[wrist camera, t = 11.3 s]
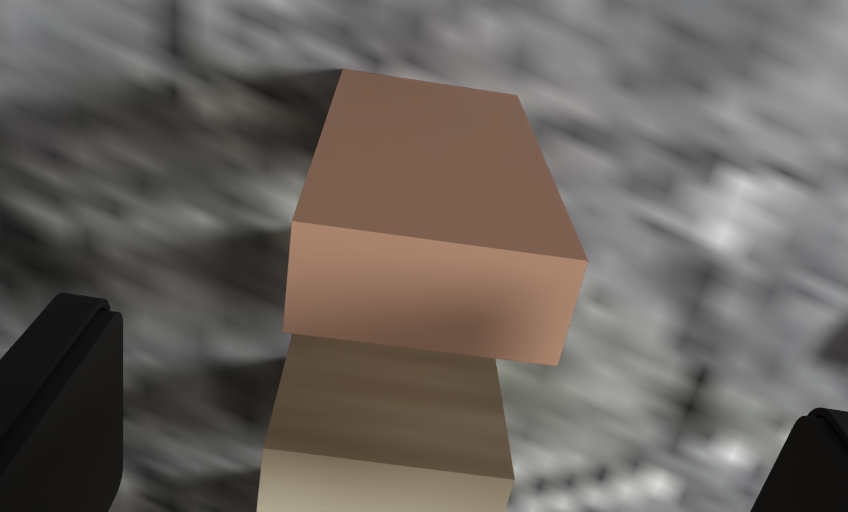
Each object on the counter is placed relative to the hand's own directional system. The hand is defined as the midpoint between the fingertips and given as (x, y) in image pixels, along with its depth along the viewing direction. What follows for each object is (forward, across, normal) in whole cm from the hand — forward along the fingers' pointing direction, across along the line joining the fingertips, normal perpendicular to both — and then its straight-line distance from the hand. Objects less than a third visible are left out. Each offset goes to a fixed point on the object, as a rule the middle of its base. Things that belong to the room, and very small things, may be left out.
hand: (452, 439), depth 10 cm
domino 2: (+13, +1, +4) cm, 14 cm away
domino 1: (+13, 0, 0) cm, 13 cm away
